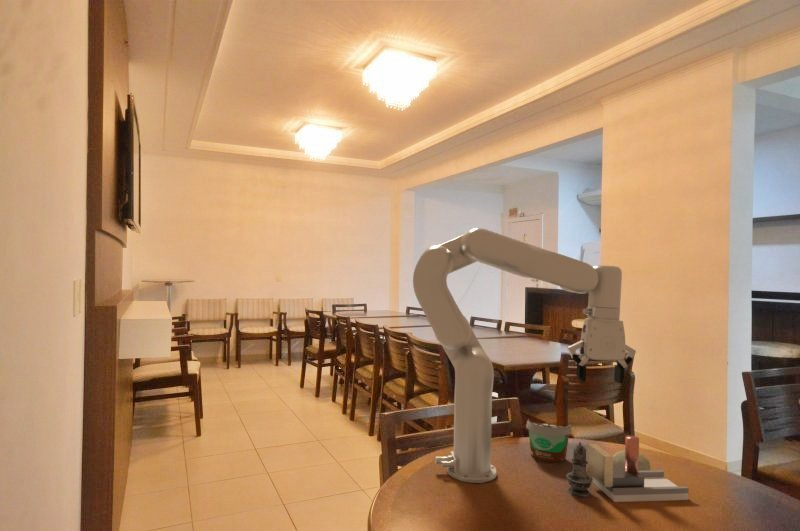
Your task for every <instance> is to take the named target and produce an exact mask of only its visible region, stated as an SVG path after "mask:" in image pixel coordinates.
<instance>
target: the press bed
mask: <svg viewBox="0 0 800 531" xmlns="http://www.w3.org/2000/svg"><path fill="white" fill-rule="evenodd" d="M639 474H640V475H642V476H643V477H644V487H636V488H612V491H611V490H610V489H608V488H607V487H604V486H603V485H601V484H600V483H599V482H598V481H597V480H596V479H595V478H593V477H592V479H593V481H592V483H593V484H594V485H595V486H596V487H597V488H598V489H599V490H601V491H602V492H603V493H604V494H605V495H606V496H607V497H608V498H610V499H611V501H613V502H614V503H620V502H622V503H626V502H656V501H657V502H659V501H661V502H662V501H689V491H690V490H689V487H687V486H686V485H685V486H684V485H683V486H682V485H681V486H678V485H677V484H675V483H674V482H672V481H671V480H669V479H668V478H667V477H665V473H664V470H662V469H659V470H658V469H655V470H654V469H652V470H651V469H650V470H647V471H639Z"/></svg>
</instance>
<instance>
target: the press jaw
mask: <svg viewBox="0 0 800 531" xmlns="http://www.w3.org/2000/svg"><path fill="white" fill-rule="evenodd" d="M624 450H625V465H613V455H612V454H611V453H610V452H608V451H606V450H605V449H604V448H603V447H601V446H599V444H598V443H588V444H587V462H588V464H587V474H589V476H590V477H591V478H592V479H593V478H595V479H596V480H597V481H598V482H599V483H600V484H601V485H603V486H604V487H607V488H608V489H610V490H611V491H612V488H636V487H644V477H643V476H642V475H640V474H639V453H640V437H638V436H635V435H625V442H624Z"/></svg>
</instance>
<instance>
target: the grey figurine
mask: <svg viewBox="0 0 800 531" xmlns="http://www.w3.org/2000/svg"><path fill="white" fill-rule="evenodd" d="M571 462H572V471H571V472H568V473H567V474H566V475H565V477H566V478H567V482H568V485H569V486H570V487H568V488H567V490H566V491H567V493H568V494H569V495H571V496H573V497H575V496H576V498H580V497H581V498H580V499H583V498H584V499H587V498H589V497H591V496H592V493H591V492H590V490H588V489H589V488H590V487H591V485H592V483H593V477H592V476H591V475H590V474H589V475H588V471H587V465H588V460H587V449H586V447H585V446H584V445H582V442H581V441H579V442H578V444H577V445H575V446H574V447H573V458H572V459H571Z"/></svg>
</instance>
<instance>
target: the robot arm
mask: <svg viewBox="0 0 800 531" xmlns="http://www.w3.org/2000/svg"><path fill="white" fill-rule="evenodd" d="M476 262H478V263H482V264H485V265H487V266H491V267H492V268H493V267H494V268H495V269H498V270H502V271H504V272H507V273H509V274H512V275H516V276H519V277H522V278H527V279H534V280H538V281H543V282H546V283H549V284H552V285H556V286H557V287H559V288H561V289H562V290H563V291H566V292H569V293H573V294H588V298H587V299H588V303H587V306H586V308H583V309H582V314H583V315H586V318H584V321H583V325H582V329H581V333H580V340H579V341H577V342H575V343H573V344H571V345H568V346H567V351H568V354H569V355H570V358H571V359H572V360H573V361H574V363H575V365H576V377H577V380H578V381H580V382H582V383H585V382H586V381H587V380H586V379H587V366H586V364H587V362H588V361H589V360H595V361H597V360H598V361H614V362H615V363H616V365H615V366H614V377H613V380H614V381H615V382H616V383H619V384H623V383H624V379H625V371H626V370H625V368H627V367H628V365H629V364H630V363H631V362H632V360H633V358H634V356H635V355H636V353H637V351H636V349H634V348H633V347H630V346H629V345H628V344H626V334H625V325H624V321H623V320H621V319H620V318H621V317H620V316H621V298H622V277H623V273H622V269H621V268H620V267H619V266H615V265H601V264H600V265H598V264H597V265H593V266H592V265H591V264H589V263H587V262H584V261H583V260H579V259H576V258H573V257H571V256H570V257H569V256H567V255H564V254H560V253H558V252H555V251H552V250H547V249H545V248H542V247H539V246H536V245H534V244H531V243H530V244H529V243H527V242H524V241H521V240H518V239H515V238H511V237H509V236H507V235H503V234H501V233H498V232H494V231H492V230H489V229H485V228H483V227H481V228H480V227H474V228H472V229H470V230H467V232H465V233H464V234H462V235H459V236H458V237H457V236H456V237H454V238H453V239H451V240H448V241H445V242H443V243H441V244H437V245H432V246H429V247H428V248H427V249H425V250H424V251H423V252H422V254H421V255H420V257H419V259H418V261H417V263H416V264H415V266H414V267H415V268H414V271H413V276H412V284H413V285H412V286H413V291H414V294H415V297H416V300H417V302H418V304H419V305H420V307H421V309H422V311H423V313H424V315H425V317H426V319H427V322H429V325H430V326H431V329H432V330H433V332H434V336H435V339H436V340H437V341H438V343H439V344H440V345H441V347H442V348H443V350H444V352H445V353H446V355H447V357H448V360H449V361H450V362H451V364H452V366H453V368H454V378H455V379H454V398H453V399H454V400H453V401H454V403H453V404H454V405H453V408H454V409H453V413H454V414H453V416H454V417H453V450H451V451H450V454H447V455H446V456H440V455H437V456H436V455H435V457H434V462H435V465H441V468H447V469H446V471H447V474H448V475H449V476H450V477H452V478H453V479H455V480H457V481H460V482H464V483H470V484H473V483H474V484H481V483H482V484H483V483H487V482H488V483H489V482H490V481H493V480H494V479H495V478H496V477H497V475H498V474H497V473H498V472H497V468H496V466H494V465H493V464H492V463H491V461H492V456H491V455H492V416H493V415H492V407H493V406H492V404H493V403H492V402H493V388H494V380H495V379H494V377H495V376H494V374H495V372H494V366H493V363H492V360H491V359H490V357H489V355H488V354H487V353H486V351H485V350H484V348H483V346H482V345H481V343H480V341H479V340H478V338H477V336H476V334H475V332H474V330H473V329H472V327H471V325H470V322H469V321H468V319H467V318H466V316H465V315H464V314H463V312H462V311H461V309H460V308H459V305H458V304H457V302H456V301H455V298H454V296H453V295H452V293H451V291H450V289H449V286H448V283H447V278H448V276H449V274H451V273H453V272H457V271H458V270H461V269H463V268H466V267H468V266H471V265H473V264H474V263H476ZM577 350H579V353H580V355H578V354H577V352H576V351H577Z"/></svg>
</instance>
